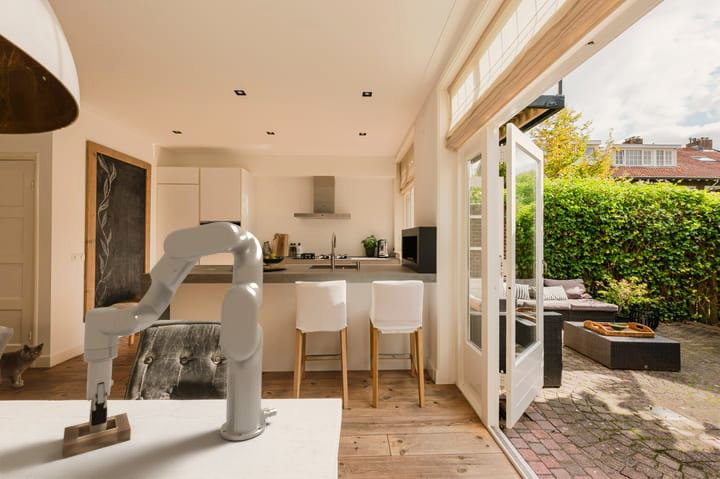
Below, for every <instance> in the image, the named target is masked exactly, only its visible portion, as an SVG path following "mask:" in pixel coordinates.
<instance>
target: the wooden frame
mask: <svg viewBox="0 0 720 479" xmlns="http://www.w3.org/2000/svg"><path fill="white" fill-rule="evenodd" d="M63 432H64V433H63V441H62V448H61V449H62V450H61V452H62V453H61V459H62V460H65V459H68V458H72V457H75V456H78V455H82V454H85V453H89V452H93V451H96V450H99V449H103V448H107V447H110V446H113V445H117V444H120V443H124V442H128V441H130V440H131V434H132V433H131V432H132V431H131V425H130V421H129V418H128V414H127V412H123V413H121V414H120V413H119V414H117V415H112V416H107V426H106V430H105V431H102V432H98V433H94V434H91V433H90V427H89V421H87V422H83V423H78V424H74V425H69V426H66V427H64V430H63Z"/></svg>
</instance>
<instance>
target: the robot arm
mask: <svg viewBox="0 0 720 479" xmlns="http://www.w3.org/2000/svg"><path fill="white" fill-rule="evenodd" d="M162 245H163V246H162V248H163V252H164V254H163V255H162V256H161V257H160V258H159V260H158V261H157V262H156V263H155V264H154V266H153V267H152V269H151V270H150V272H149V276H150V279H151V285H150V286H149V289H148V290H147V291H146V293H145V294H144V295H143V297H142V298H141V299H140V300H139V302H138V303H137V304H135V305H132V306H128V307H125V308H121V309H118V308H116V307H111V306H110V307H109V306H107V307H106V306H105V307H104V306H103V307H96V308H92V309H89V310H87V311H86V313H85V317H84V338H83V339H84V344H83V345H84V346H83V362H85V363H87V372H86V375H87V376H86V383H87V388H86V401H88V402H91V399H93V398H94V399H93V410H92V422H91V425H92V426H95V425H99V424H103V423H106V421H107V417H108V415H107V412H108V406H107V407H106V398H107V399H108V397H109V396H110V394H111V388H112V386H111V379H112V377H113V375H112V374H113V373H112V372H113V360H114V359H116V358H117V357H118V354H119V337H128V336H132V335H135V334H137V333H139V332H141V331H143V330H146V329H148V328H150V327H151V326H152V325H154V323H156V321H158V319H160V317H161V316H162V314H164V312H165V310H166V309H168V307H169V305H170V303H171V302H172V301H173V299H174V297H175V294H177V291H178V288H179V286H180V285H181V284H182V283H183V281H184V280H185V279H186V277H187V276H188V275H189V274H190V272H191V271H192V270H193V269H194V267H195V266H196V264H198V262H199V261H200V260H201V259H202V258H203V257H208V256H212V255H218V254H222V253H228V254H232V255H233V266H232V284H231V288H229V289H228V290H227V291H226V292H225V294H224V296H223V298H222V302H221V309H220V310H221V312H220V333H219V346H220V351H221V353H222V354H223V356H224V357H225V359H227V373H226V375H227V377H226V378H227V380H226V411H225V412H226V415H225V416H226V419H225V422H224V423H223V424H222V425H221V426H220V427H219V429H220V430H219V434H220V436H221V438H223V439H225V440H229V441H244V440H248V439H252V438H254V437H257V436H258V435H261V434H262V433H263V432H264V431H265V429H266V427H267V421H266V420H267V418H271V417H274V416H277V412H278V411H277V409H276V408H275V407H274V408H271V409H270V407H265V408H262V375H263V374H262V373H263V370H262V369H263V351H264V350H263V347H264V331H263V330H264V329H263V327H262V325H261V324H260V323H259V309H260V308H261V306H262V304H263V301H264V300H263V299H264V298H263V296H264V295H263V285H264V284H263V283H264V281H263V280H264V256H263V250H262V245H261V243H260V241H259V239H257V237H256V236H255V235H254V234H253V233H251V232H250V231H249V230H247V228H246V229H245V228H243V227H241V226H239V225H237V224H234V223H232V222H229V221H217V222H212V223H210V222H209V223H205V224H202V225H201V224H200V225H196V226H190V227H185V228H180V229H178V228H177V229H175V230H173V231H171V232H170V233H169V234H167V235H166V237H165V239H164V240H163V244H162ZM97 386H98V389H97ZM104 394H105V396H104ZM95 395H96V396H97V395H98V397H97V398H95ZM106 396H107V397H106ZM96 400H98V401H97V402H96Z"/></svg>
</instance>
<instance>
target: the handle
mask: <svg viewBox="0 0 720 479" xmlns="http://www.w3.org/2000/svg"><path fill="white" fill-rule="evenodd" d="M112 386H114V380H113V379H112V378H111V387H112ZM85 388H86V389H87V382H86V383H85ZM97 389H98V386H97ZM104 396H105V394H104ZM97 397H98V395H97V396H96V395H95V398H97ZM106 397H107V396H106ZM93 399H94V398H93ZM93 399H90V402H91V403H90V409H89V410H90V411H89V418H88V419H89V420H88V422H89V427H90V433H91V434H94V433H98V432H102V431H105V430H106V426H107V421H106V423H103V424H99V425H95V426H92V425H91V422H92V410H93ZM97 401H98V400H96V402H97ZM106 407H107V408H108V397H107V398H106ZM108 415H109V414H108V411H107V416H108Z"/></svg>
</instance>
